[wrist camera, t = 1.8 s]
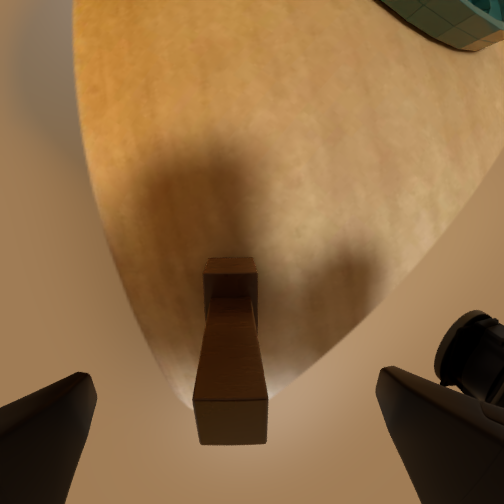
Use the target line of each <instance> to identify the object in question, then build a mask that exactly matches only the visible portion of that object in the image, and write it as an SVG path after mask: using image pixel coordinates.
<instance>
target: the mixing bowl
mask: <svg viewBox="0 0 504 504" xmlns="http://www.w3.org/2000/svg"><path fill="white" fill-rule="evenodd" d="M381 1H382V2H384V3H385V4H386V5H388V6H389V7H390V8H391V9H393V10H394V11H395V12H396V13H398V14H399V15H400V16H401V17H403V18H404V19H405V20H406V21H408V22H409V23H411V24H413V25H414V26H416V27H417V28H419V29H421V30H422V31H424V32H425V33H427V34H428V35H430V36H431V37H433V38H435V39H437V40H439V41H441V42H444V43H446V44H448V45H451V46H453V47H455V48H457V49H463V50H472V51H478V50H480V49H483V48H485V47H487V46H490V45H492V44H494V43H497V42H499V41H502V40H504V0H381Z"/></svg>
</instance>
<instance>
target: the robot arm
mask: <svg viewBox="0 0 504 504" xmlns="http://www.w3.org/2000/svg"><path fill="white" fill-rule="evenodd" d="M453 384H455V385H456V386H457V387H458V388H459V389H460V390H461V391H462V392H463V393H464V394H462V393H459V392H457V391H454V390H452V389H449V388H446V387H447V386H450V385H453ZM376 397H377V399H378V402H379V405H380V408H381V411H382V414H383V416H384V420H385V422H386V426H387V428H388V431H389V433H390V436H391V438H392V439H393V442H394V444H395V446H396V448H397V450H398V453H399V455H400V457H401V459H402V461H403V463H404V466H405V468H406V470H407V472H408V474H409V476H410V479H411V481H412V483H413V485H414V487H415V490H416V492H417V494H418V497H419V499H420V501H421V504H504V325H502V324H500V323H499V320H498V319H496V318H489V319H485V320H481V321H477V322H475V323H473V324H469V325H465V326H461V327H459V328H458V329H457V330H456V333H455V336H454V340H453V344H452V347H451V351H450V354H449V357H448V360H447V363H446V367H445V370H444V373H443V375H442V378H441V382H440V385H439V384H436V383H434V382H431V381H429V380H426V379H424V378H422V377H419V376H417V375H414V374H412V373H409V372H407V371H405V370H402V369H400V368H397V367H395V366H389V367H384V368H382V369H381V370H380V373H379V378H378V382H377V385H376ZM96 402H97V393H96V390H95V387H94V384H93V381H92V378H91V376H90V375H89V374H88V373H83V372H76V373H74V374H72V375H70V376H68V377H66V378H64V379H61V380H59V381H57V382H55V383H53V384H51V385H49V386H47V387H45V388H42V389H40V390H38V391H36V392H34V393H32V394H30V395H27V396H25V397H23V398H21V399H18V400H16V401H14V402H12V403H10V404H7V405H5V406H3V407H1V408H0V504H65V501H66V498H67V495H68V492H69V488H70V485H71V482H72V479H73V476H74V473H75V470H76V467H77V465H78V462H79V459H80V456H81V453H82V450H83V448H84V445H85V442H86V439H87V436H88V433H89V429H90V425H91V421H92V417H93V413H94V409H95V406H96Z"/></svg>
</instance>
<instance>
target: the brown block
mask: <svg viewBox="0 0 504 504" xmlns="http://www.w3.org/2000/svg"><path fill="white" fill-rule="evenodd" d="M203 288H204V305H205V321H206V325H205V331H204V336H203V341H202V347H201V352H200V358H199V364H198V369H197V375H196V381H195V387H194V393H193V399H192V401H193V407H194V413H195V419H196V424H197V431H198V436H199V442H200V444H201V445H256V444H266V442H267V423H268V393H267V388H266V382H265V376H264V370H263V365H262V359H261V353H260V347H259V342H258V273H257V269H256V266H255V263H254V259H253V258H252V257H250V258H209V259H208V261H207V264H206V267H205V270H204V272H203Z"/></svg>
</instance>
